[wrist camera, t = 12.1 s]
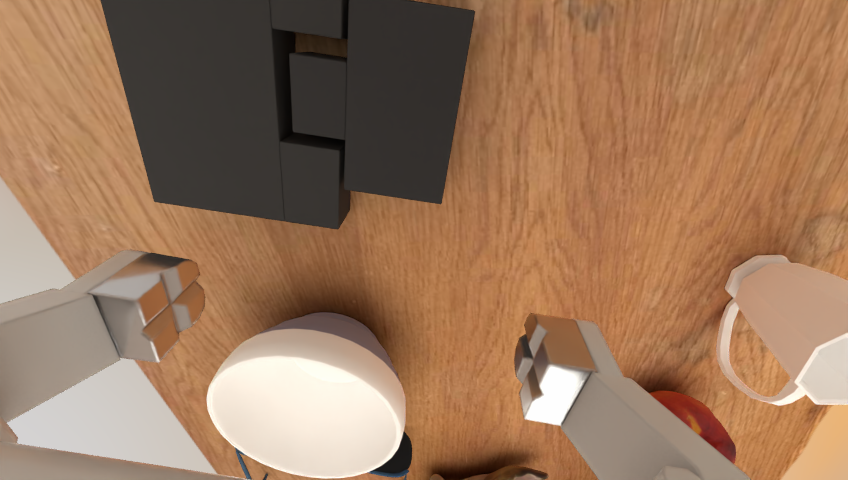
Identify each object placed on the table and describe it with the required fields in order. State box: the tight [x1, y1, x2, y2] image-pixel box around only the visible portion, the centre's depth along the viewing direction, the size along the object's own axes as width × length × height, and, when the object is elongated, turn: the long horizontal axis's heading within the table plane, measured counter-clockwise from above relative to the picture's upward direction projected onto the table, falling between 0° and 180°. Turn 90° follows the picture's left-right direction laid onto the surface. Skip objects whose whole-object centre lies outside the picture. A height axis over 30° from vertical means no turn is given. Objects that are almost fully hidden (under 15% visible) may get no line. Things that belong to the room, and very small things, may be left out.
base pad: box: [101, 0, 350, 229], centre depth 20 cm, size 16×12×3 cm
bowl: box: [206, 312, 406, 478], centre depth 29 cm, size 14×14×8 cm
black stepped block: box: [289, 0, 475, 204], centre depth 20 cm, size 10×9×3 cm
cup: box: [716, 255, 848, 406], centre depth 23 cm, size 7×10×8 cm
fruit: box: [649, 391, 736, 464], centre depth 29 cm, size 8×8×8 cm
